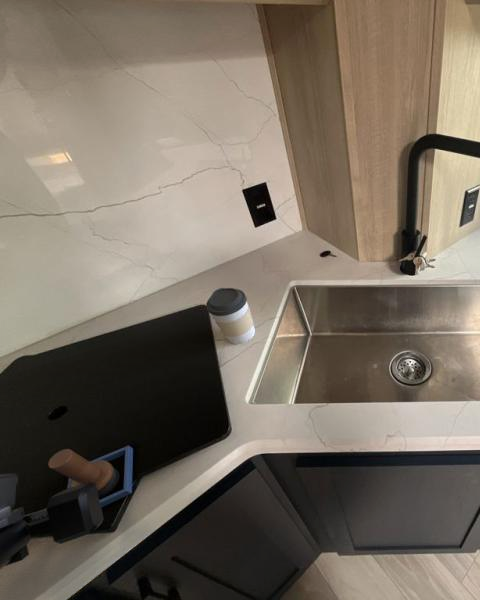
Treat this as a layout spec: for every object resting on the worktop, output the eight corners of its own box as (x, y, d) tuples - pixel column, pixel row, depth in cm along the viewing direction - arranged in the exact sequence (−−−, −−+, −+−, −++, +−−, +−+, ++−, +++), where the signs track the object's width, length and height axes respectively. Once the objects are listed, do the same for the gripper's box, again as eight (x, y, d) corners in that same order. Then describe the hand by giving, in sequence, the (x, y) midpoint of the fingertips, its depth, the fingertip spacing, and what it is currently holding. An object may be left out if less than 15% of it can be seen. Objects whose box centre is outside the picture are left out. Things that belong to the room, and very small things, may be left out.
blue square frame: (71, 524, 56) (61, 520, 54) (78, 474, 61) (69, 469, 60) (134, 494, 59) (127, 490, 57) (135, 450, 65) (128, 445, 63)
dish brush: (88, 508, 57) (39, 485, 49) (83, 483, 60) (35, 457, 52) (125, 485, 60) (84, 459, 52) (118, 462, 63) (79, 434, 55)
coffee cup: (266, 335, 88) (250, 295, 78) (234, 355, 83) (213, 314, 73) (249, 319, 92) (232, 278, 82) (218, 336, 87) (196, 295, 77)
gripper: (39, 470, 37) (116, 429, 52) (-197, 542, 32) (-36, 472, 47) (61, 565, 37) (132, 496, 52) (-173, 652, 32) (-19, 547, 47)
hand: (56, 501), depth 49 cm, fingers open, 9 cm apart
